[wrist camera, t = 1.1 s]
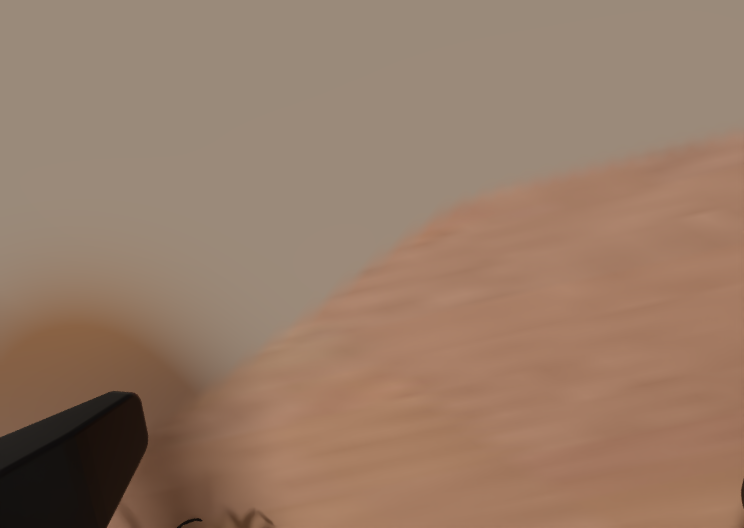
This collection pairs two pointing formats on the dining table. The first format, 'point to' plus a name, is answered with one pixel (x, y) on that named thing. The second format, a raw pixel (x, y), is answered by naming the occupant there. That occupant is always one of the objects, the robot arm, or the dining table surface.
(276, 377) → the dining table surface
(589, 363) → the dining table surface
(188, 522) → the creature
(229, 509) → the dining table surface
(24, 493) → the robot arm
